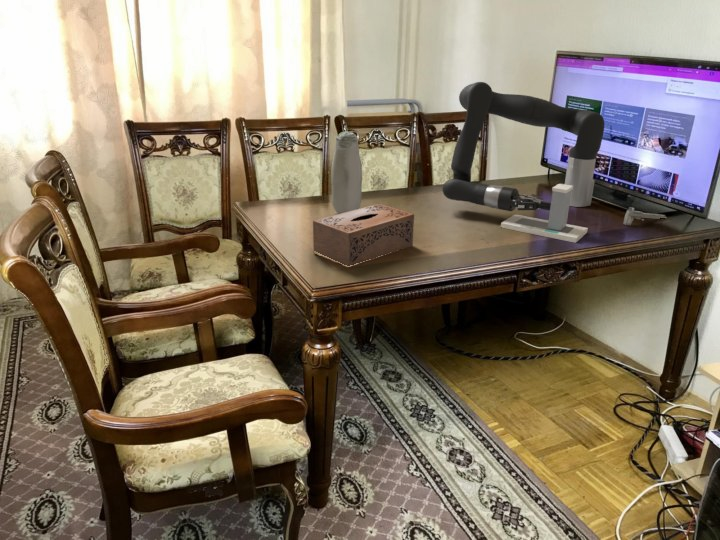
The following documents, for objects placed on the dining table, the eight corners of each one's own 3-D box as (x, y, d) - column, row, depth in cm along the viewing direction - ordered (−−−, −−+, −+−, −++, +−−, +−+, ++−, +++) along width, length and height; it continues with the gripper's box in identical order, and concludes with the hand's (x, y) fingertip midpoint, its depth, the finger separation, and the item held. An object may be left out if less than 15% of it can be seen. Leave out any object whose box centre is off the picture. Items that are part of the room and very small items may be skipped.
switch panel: (500, 227, 189) (501, 222, 188) (514, 218, 198) (515, 213, 198) (575, 242, 176) (576, 237, 176) (587, 232, 185) (587, 227, 185)
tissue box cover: (377, 234, 182) (378, 203, 178) (412, 246, 172) (414, 214, 168) (313, 254, 165) (312, 220, 162) (348, 269, 156) (348, 233, 152)
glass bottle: (329, 211, 203) (328, 129, 192) (357, 209, 205) (358, 128, 195) (334, 219, 194) (334, 134, 183) (364, 218, 196) (365, 133, 186)
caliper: (625, 226, 192) (629, 208, 190) (622, 225, 193) (626, 207, 191) (667, 219, 201) (671, 201, 198) (664, 218, 202) (668, 200, 199)
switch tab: (546, 228, 183) (552, 187, 178) (553, 223, 188) (559, 183, 183) (560, 231, 181) (566, 189, 176) (567, 225, 186) (573, 185, 181)
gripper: (494, 190, 186) (547, 200, 177) (510, 182, 196) (561, 191, 187) (491, 213, 189) (544, 223, 180) (507, 204, 199) (558, 213, 190)
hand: (553, 207), depth 183 cm, fingers closed
